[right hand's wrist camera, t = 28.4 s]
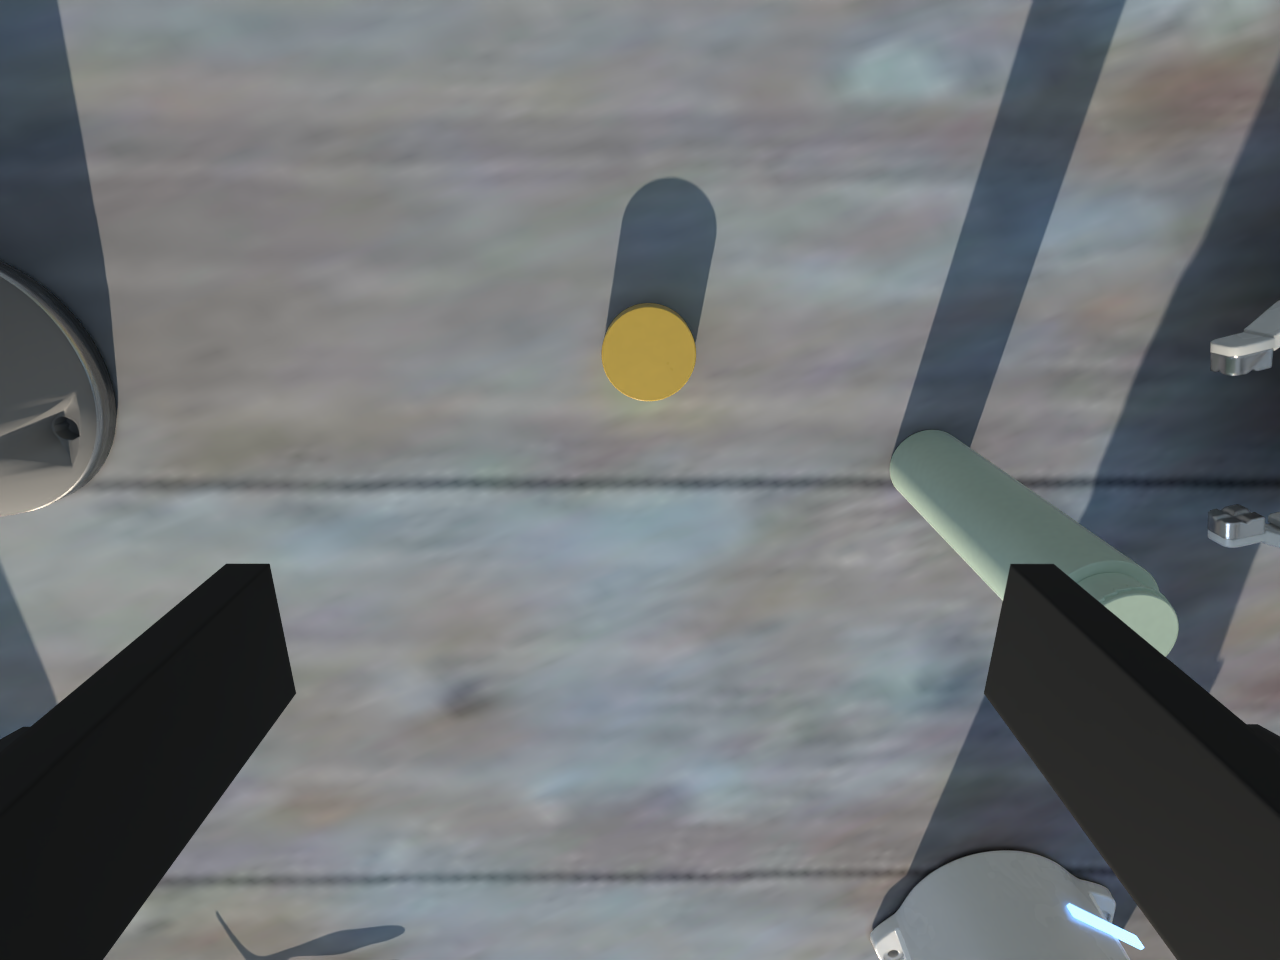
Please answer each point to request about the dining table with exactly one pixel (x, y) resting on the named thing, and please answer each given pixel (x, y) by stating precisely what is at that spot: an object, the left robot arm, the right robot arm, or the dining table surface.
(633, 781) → the dining table surface
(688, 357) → the lid
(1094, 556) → the green cylinder
